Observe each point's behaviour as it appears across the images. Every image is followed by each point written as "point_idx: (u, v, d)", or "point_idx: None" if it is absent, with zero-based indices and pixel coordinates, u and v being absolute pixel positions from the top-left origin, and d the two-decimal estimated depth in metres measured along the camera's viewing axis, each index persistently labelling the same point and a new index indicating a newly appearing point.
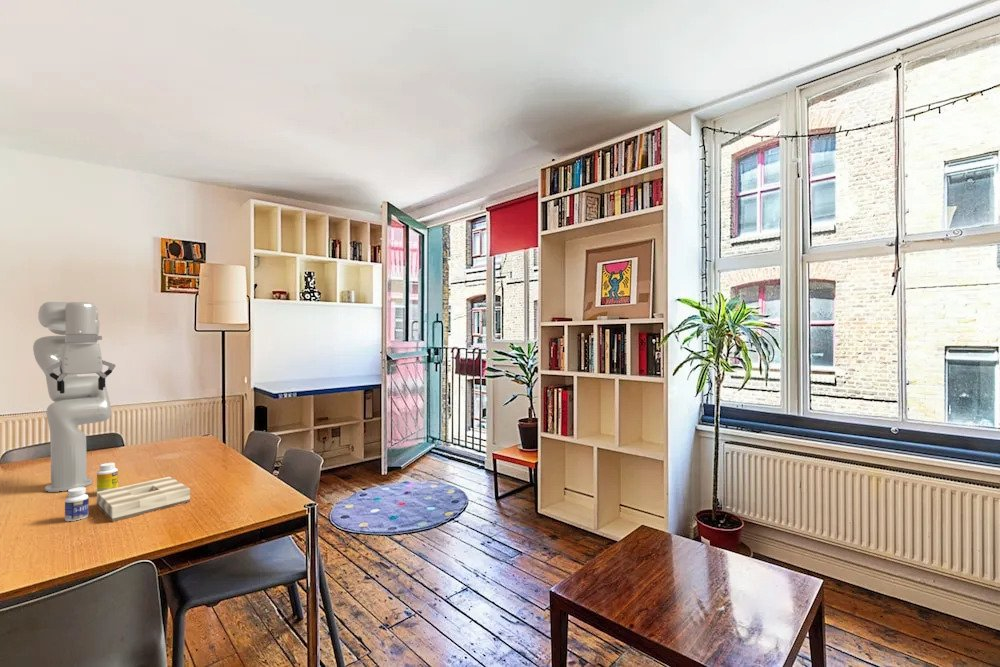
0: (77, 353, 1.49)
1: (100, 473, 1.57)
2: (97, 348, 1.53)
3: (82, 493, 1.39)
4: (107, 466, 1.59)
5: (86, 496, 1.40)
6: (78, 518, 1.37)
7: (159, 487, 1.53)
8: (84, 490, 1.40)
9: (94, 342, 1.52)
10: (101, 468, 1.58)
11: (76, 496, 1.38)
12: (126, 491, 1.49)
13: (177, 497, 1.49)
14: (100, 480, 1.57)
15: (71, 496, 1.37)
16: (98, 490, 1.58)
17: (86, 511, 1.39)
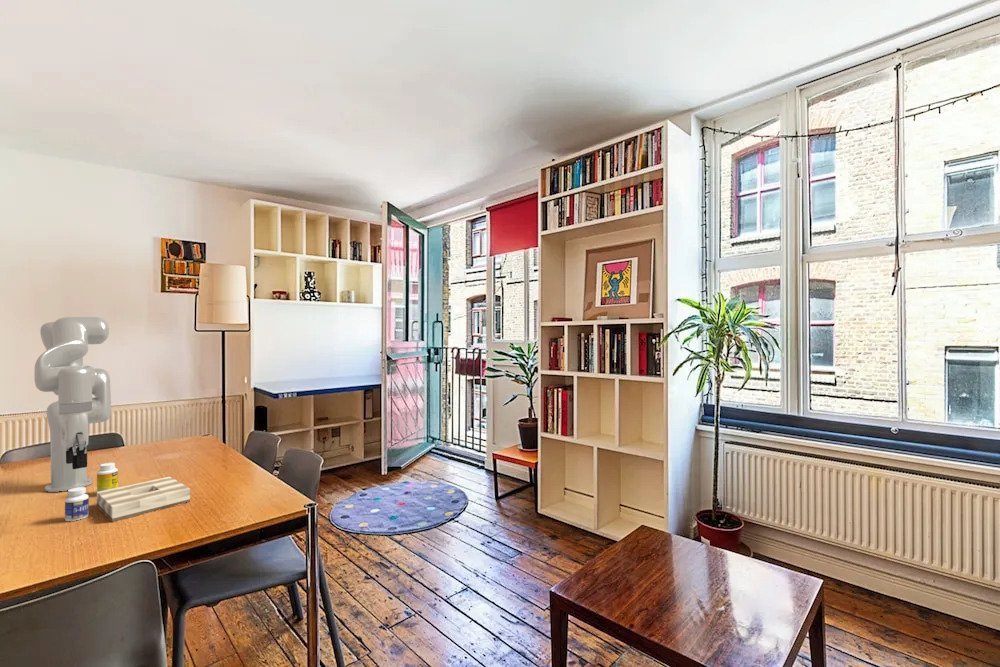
0: None
1: (100, 473, 1.57)
2: None
3: (82, 493, 1.39)
4: (107, 466, 1.59)
5: (86, 496, 1.40)
6: (78, 518, 1.37)
7: (159, 487, 1.53)
8: (84, 490, 1.40)
9: None
10: (101, 468, 1.58)
11: (76, 496, 1.38)
12: (126, 491, 1.49)
13: (177, 497, 1.49)
14: (100, 480, 1.57)
15: (72, 496, 1.37)
16: (98, 490, 1.58)
17: (86, 511, 1.39)
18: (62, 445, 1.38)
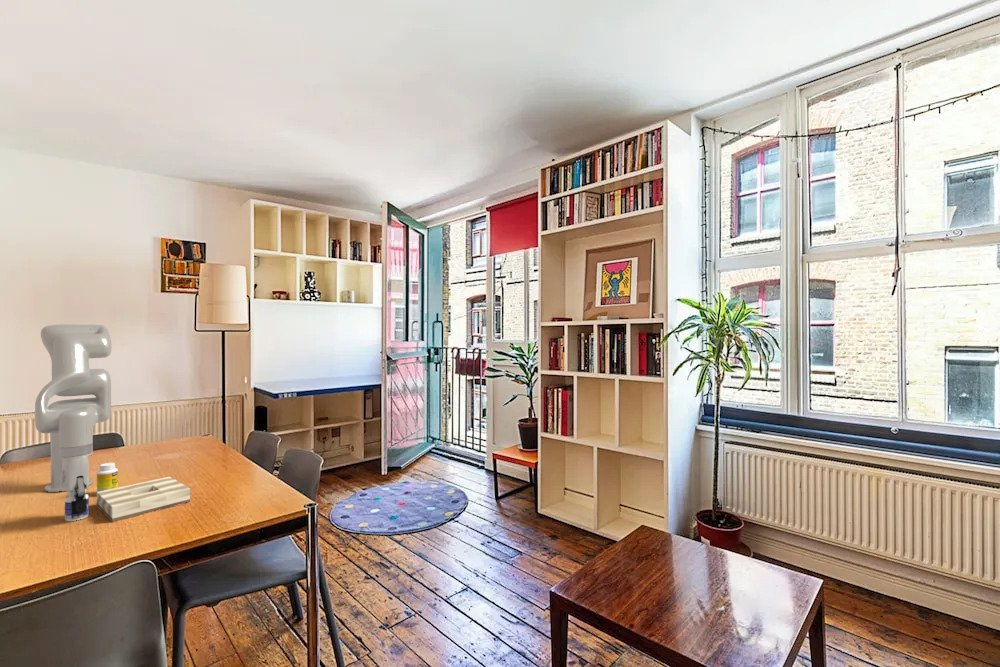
0: None
1: (100, 473, 1.57)
2: None
3: None
4: (107, 466, 1.59)
5: (86, 496, 1.40)
6: (78, 518, 1.37)
7: (159, 487, 1.53)
8: None
9: None
10: (101, 468, 1.58)
11: None
12: (126, 491, 1.49)
13: (177, 497, 1.49)
14: (100, 480, 1.57)
15: (71, 496, 1.37)
16: (98, 490, 1.58)
17: (86, 511, 1.39)
18: (62, 487, 1.38)
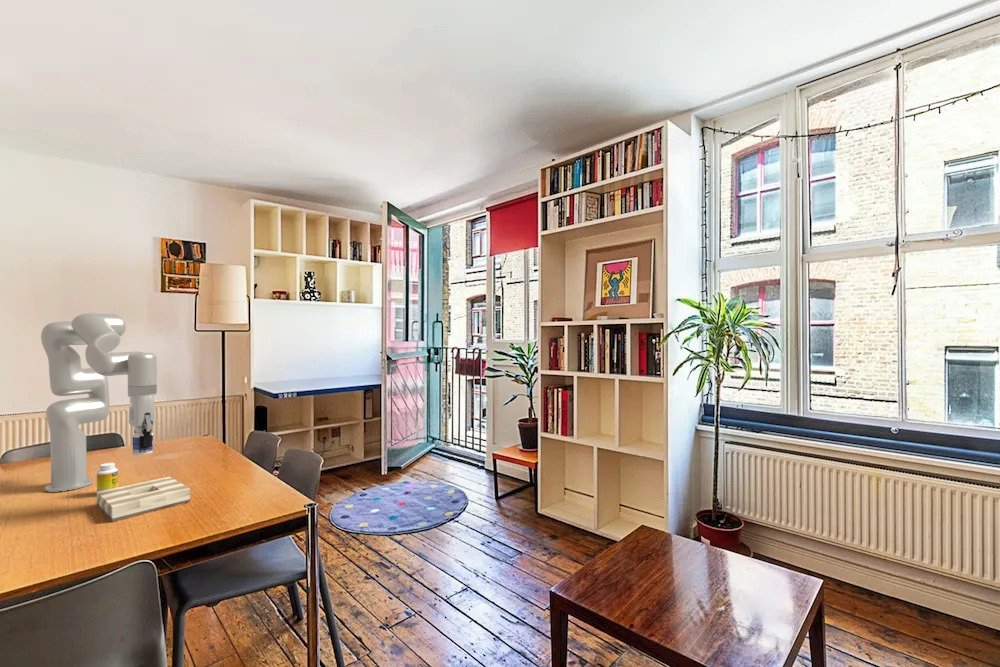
0: None
1: (100, 473, 1.57)
2: None
3: None
4: (107, 466, 1.59)
5: None
6: (145, 452, 1.49)
7: (159, 487, 1.53)
8: None
9: None
10: (101, 468, 1.58)
11: None
12: (126, 491, 1.49)
13: (177, 497, 1.49)
14: (100, 480, 1.57)
15: (139, 432, 1.48)
16: (98, 490, 1.58)
17: (151, 447, 1.51)
18: (130, 424, 1.49)
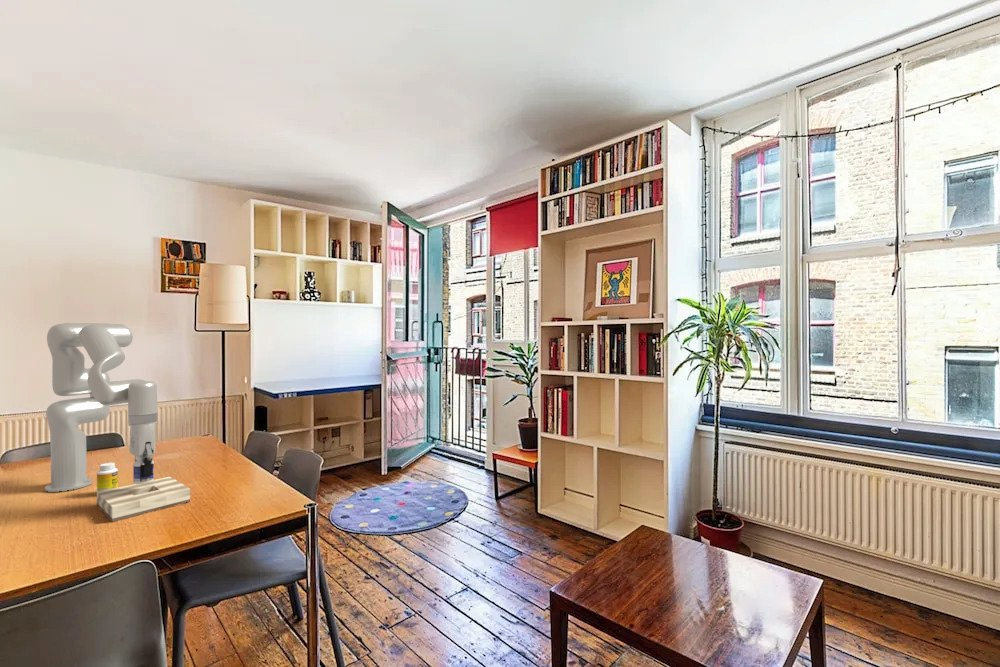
0: None
1: (100, 473, 1.57)
2: None
3: None
4: (107, 466, 1.59)
5: None
6: (145, 481, 1.49)
7: (159, 487, 1.53)
8: None
9: None
10: (101, 468, 1.58)
11: None
12: (126, 491, 1.49)
13: (177, 497, 1.49)
14: (100, 480, 1.57)
15: (139, 461, 1.48)
16: (98, 490, 1.58)
17: (152, 475, 1.51)
18: (131, 453, 1.49)
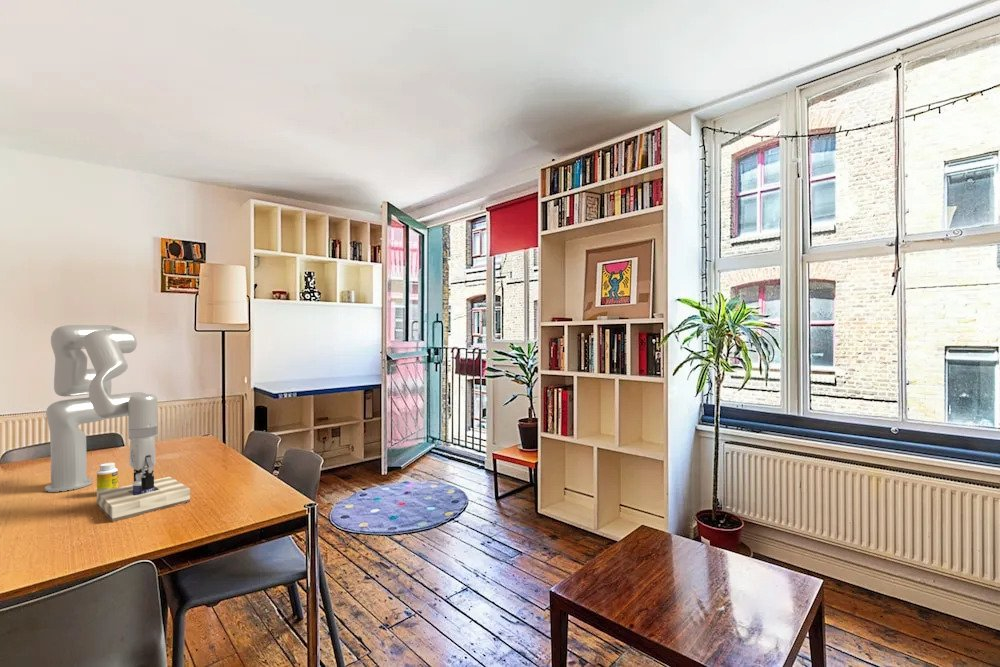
0: None
1: (100, 473, 1.57)
2: None
3: None
4: (107, 466, 1.59)
5: None
6: None
7: (159, 487, 1.53)
8: None
9: None
10: (101, 468, 1.58)
11: None
12: (126, 491, 1.49)
13: (177, 497, 1.49)
14: (100, 480, 1.57)
15: (139, 480, 1.49)
16: (98, 490, 1.58)
17: None
18: (131, 466, 1.49)
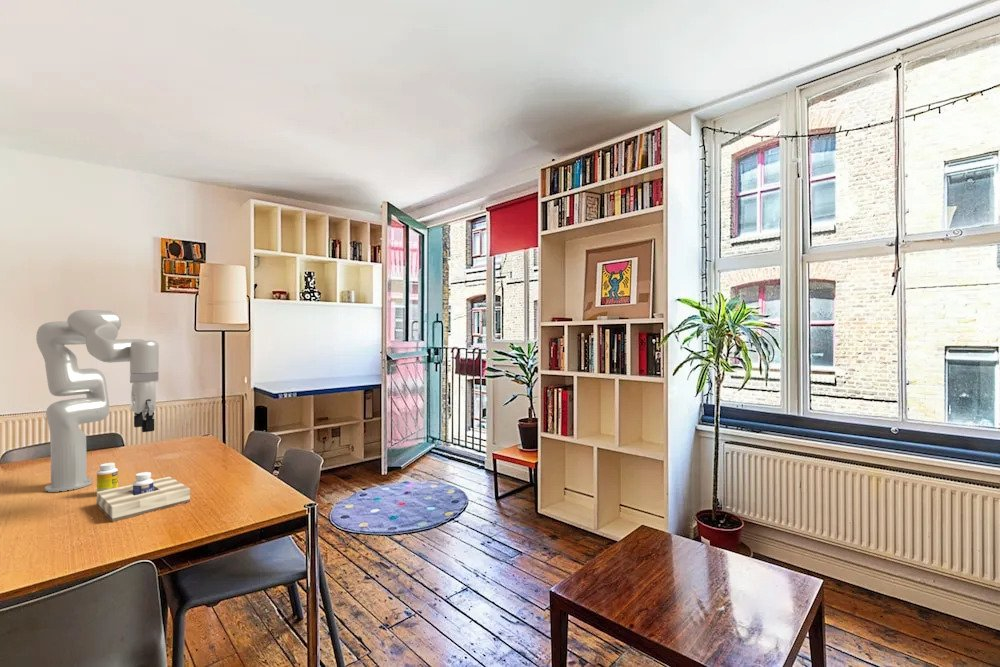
0: None
1: (100, 473, 1.57)
2: None
3: (148, 477, 1.50)
4: (107, 466, 1.59)
5: (151, 480, 1.51)
6: None
7: (159, 487, 1.53)
8: (150, 474, 1.51)
9: None
10: (101, 468, 1.58)
11: (143, 480, 1.49)
12: (126, 491, 1.49)
13: (177, 497, 1.49)
14: (100, 480, 1.57)
15: (139, 480, 1.49)
16: (98, 490, 1.58)
17: None
18: (132, 410, 1.52)
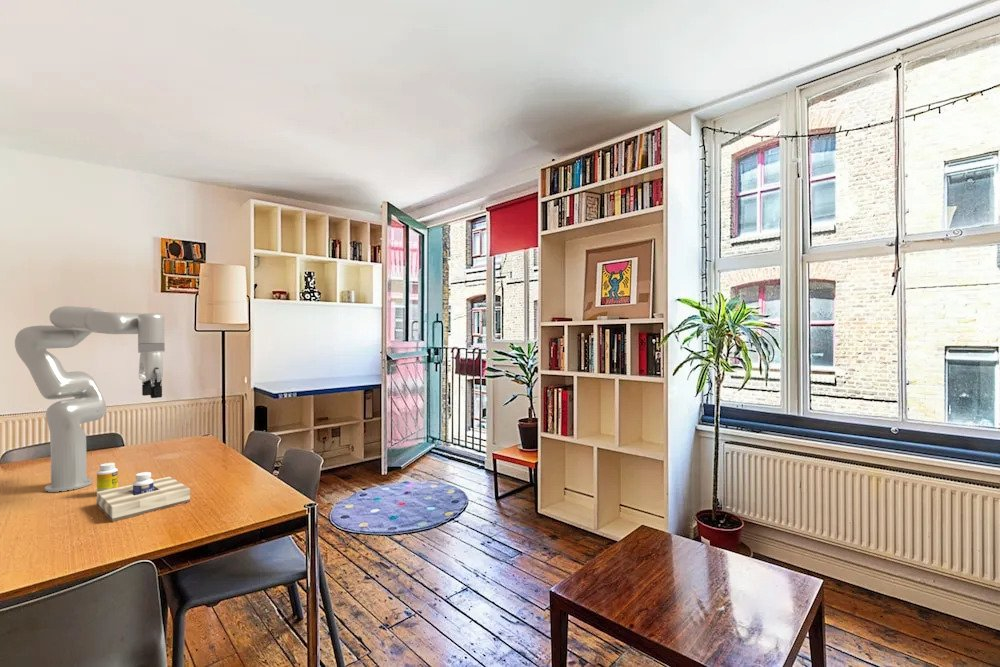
0: None
1: (100, 473, 1.57)
2: None
3: (148, 477, 1.50)
4: (107, 466, 1.59)
5: (151, 480, 1.51)
6: None
7: (159, 487, 1.53)
8: (150, 475, 1.51)
9: None
10: (101, 468, 1.58)
11: (143, 480, 1.49)
12: (126, 491, 1.49)
13: (177, 497, 1.49)
14: (100, 480, 1.57)
15: (139, 480, 1.49)
16: (98, 490, 1.58)
17: None
18: (140, 379, 1.62)
